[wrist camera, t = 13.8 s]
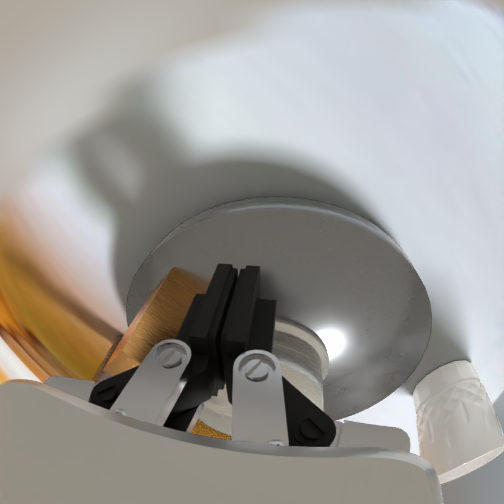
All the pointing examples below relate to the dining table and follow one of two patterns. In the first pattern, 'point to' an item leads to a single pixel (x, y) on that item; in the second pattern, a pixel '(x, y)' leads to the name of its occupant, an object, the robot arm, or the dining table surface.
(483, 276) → the dining table surface
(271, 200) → the turntable
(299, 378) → the cover
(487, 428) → the white cup
